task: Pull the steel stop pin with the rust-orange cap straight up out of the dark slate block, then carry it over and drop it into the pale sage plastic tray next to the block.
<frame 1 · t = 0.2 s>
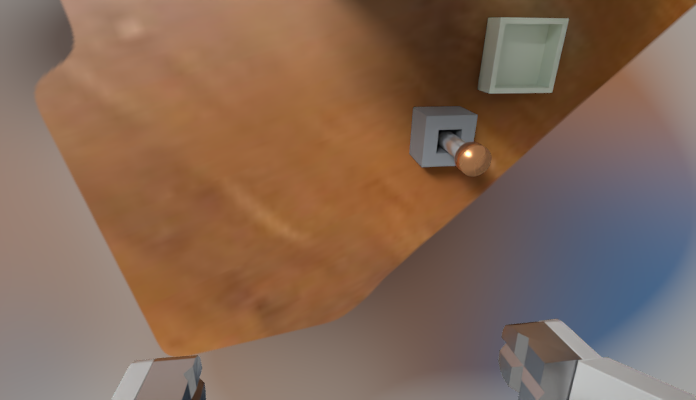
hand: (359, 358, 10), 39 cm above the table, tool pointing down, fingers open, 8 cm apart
pin block: (434, 130, 49), on the table
tray: (513, 54, 46), on the table
stop pin: (452, 144, 43), in the pin block
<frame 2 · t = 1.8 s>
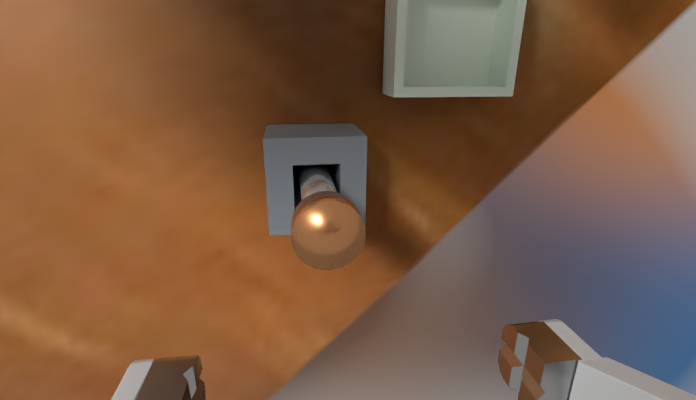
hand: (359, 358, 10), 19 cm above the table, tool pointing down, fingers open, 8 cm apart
pin block: (311, 165, 28), on the table
tray: (442, 31, 26), on the table
stop pin: (318, 192, 22), in the pin block
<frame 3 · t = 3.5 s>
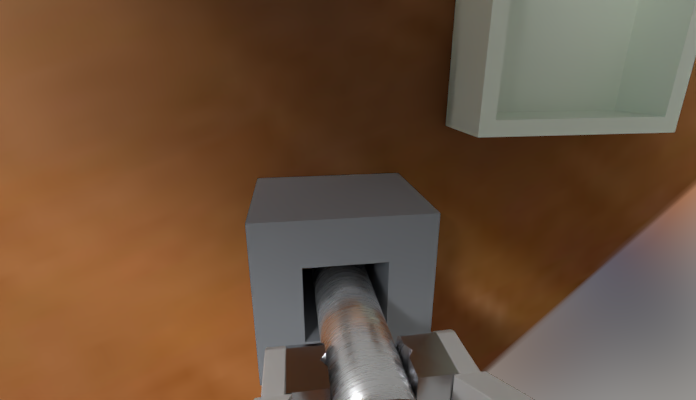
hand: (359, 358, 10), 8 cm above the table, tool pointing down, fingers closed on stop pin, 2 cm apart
pin block: (330, 239, 17), on the table
tray: (547, 24, 16), on the table
stop pin: (351, 321, 12), in the pin block, touching gripper
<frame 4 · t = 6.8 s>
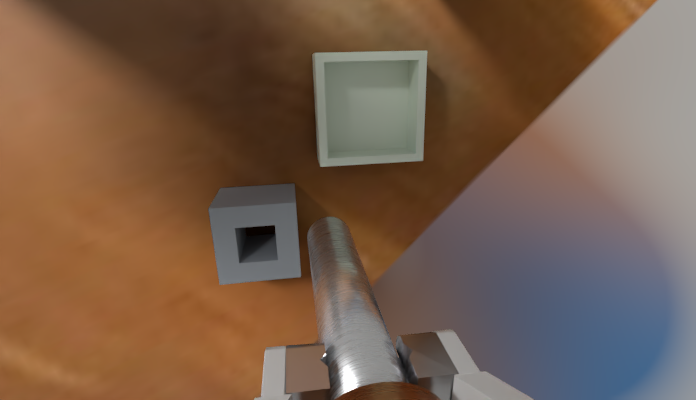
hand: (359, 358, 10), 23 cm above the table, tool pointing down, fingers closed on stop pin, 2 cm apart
pin block: (261, 219, 33), on the table
tray: (364, 106, 31), on the table
stop pin: (347, 314, 12), point 21 cm above the table, touching gripper
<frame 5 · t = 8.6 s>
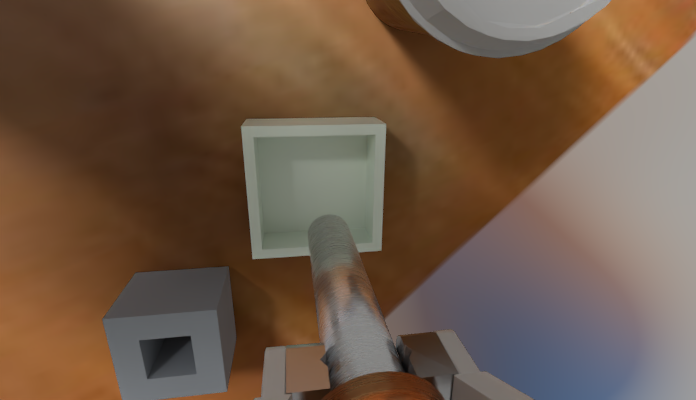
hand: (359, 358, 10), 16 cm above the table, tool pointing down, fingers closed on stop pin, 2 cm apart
pin block: (188, 307, 27), on the table
tray: (313, 179, 25), on the table
stop pin: (347, 309, 12), point 14 cm above the table, touching gripper
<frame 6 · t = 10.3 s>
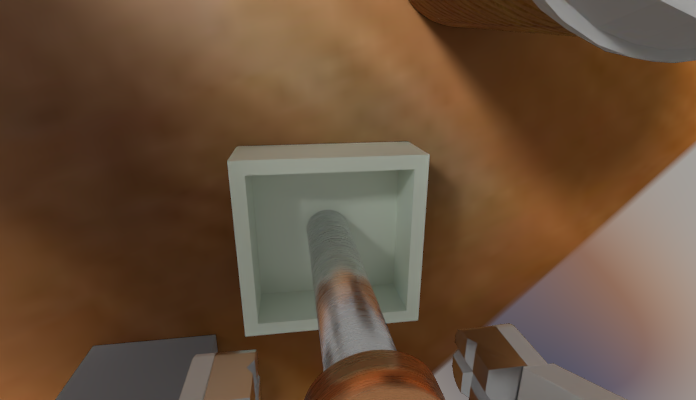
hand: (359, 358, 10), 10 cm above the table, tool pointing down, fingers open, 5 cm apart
pin block: (164, 385, 21), on the table
tray: (326, 223, 19), on the table
stop pin: (344, 297, 13), in the tray, point 7 cm above the table
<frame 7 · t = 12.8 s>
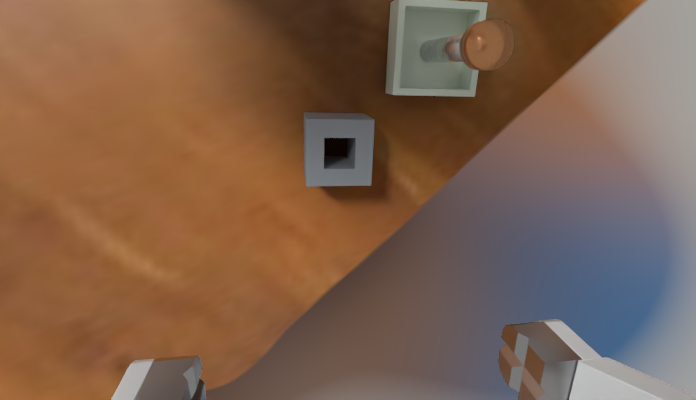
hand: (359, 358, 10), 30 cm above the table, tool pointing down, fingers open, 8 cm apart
pin block: (333, 143, 39), on the table
tray: (427, 50, 37), on the table
stop pin: (455, 48, 31), in the tray, point 7 cm above the table
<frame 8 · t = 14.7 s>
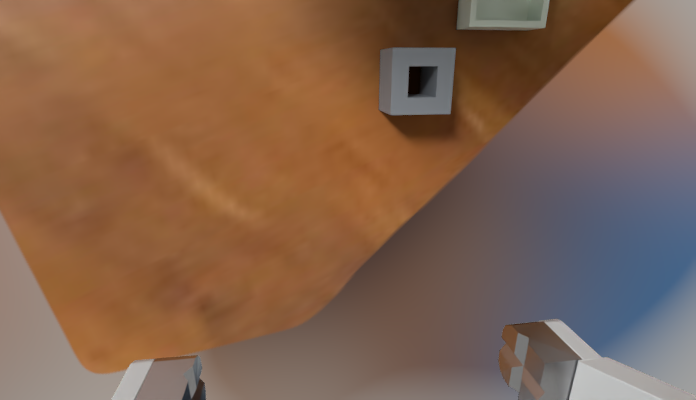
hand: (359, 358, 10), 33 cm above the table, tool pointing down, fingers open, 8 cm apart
pin block: (407, 80, 41), on the table
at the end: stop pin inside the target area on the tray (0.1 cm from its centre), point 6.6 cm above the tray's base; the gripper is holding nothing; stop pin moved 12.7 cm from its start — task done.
